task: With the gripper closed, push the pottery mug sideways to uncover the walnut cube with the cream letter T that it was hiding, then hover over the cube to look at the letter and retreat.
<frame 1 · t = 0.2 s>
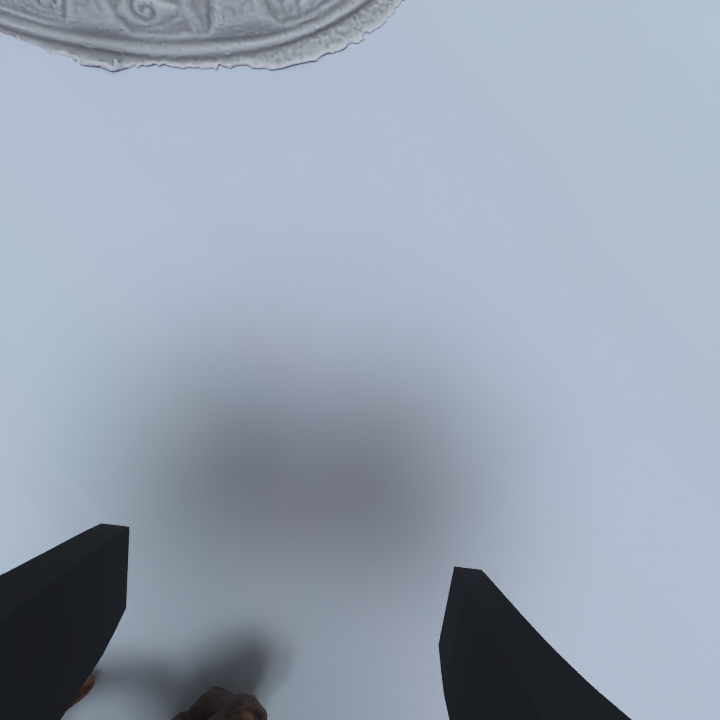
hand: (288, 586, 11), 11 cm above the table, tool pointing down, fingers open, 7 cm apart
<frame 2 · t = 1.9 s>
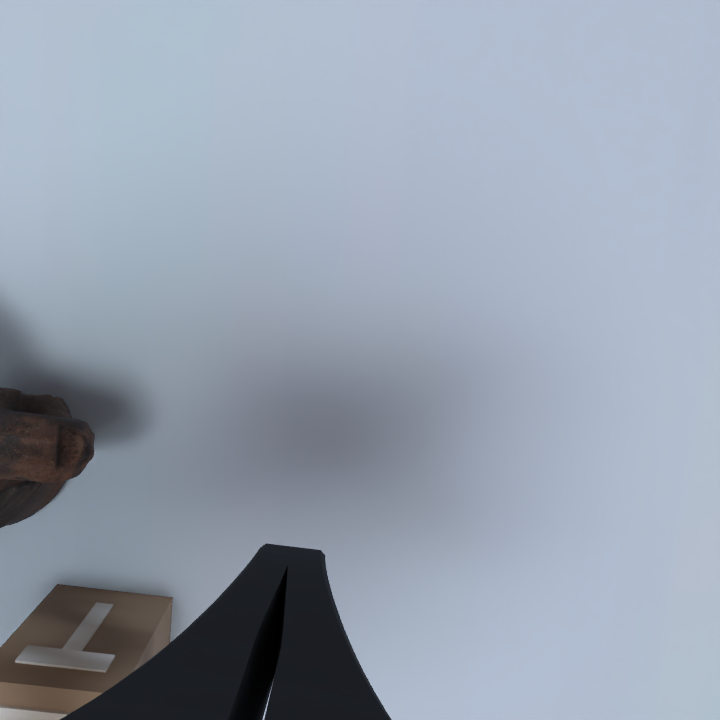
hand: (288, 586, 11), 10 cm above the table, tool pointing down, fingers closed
letter cube: (114, 638, 22), on the table
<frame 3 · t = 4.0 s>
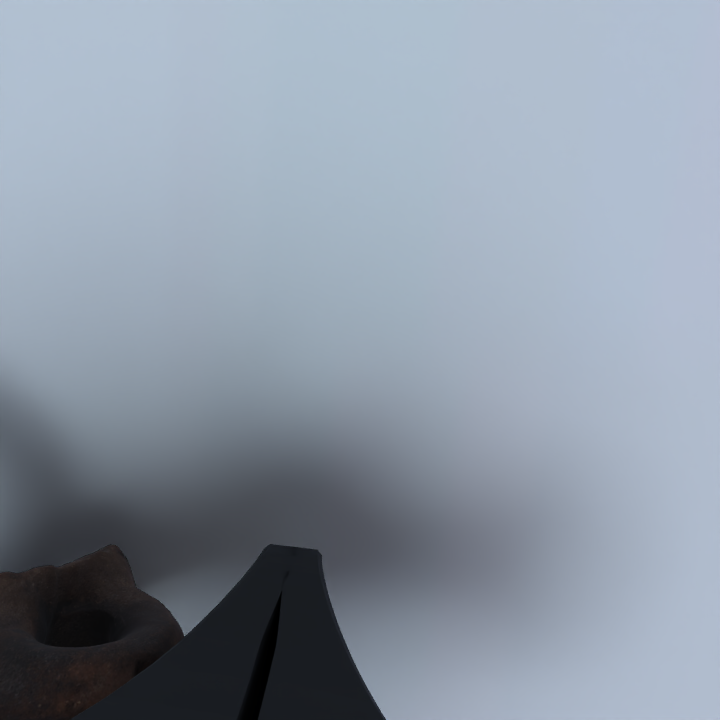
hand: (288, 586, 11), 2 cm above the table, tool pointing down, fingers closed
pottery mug: (13, 546, 13), on the table, touching gripper
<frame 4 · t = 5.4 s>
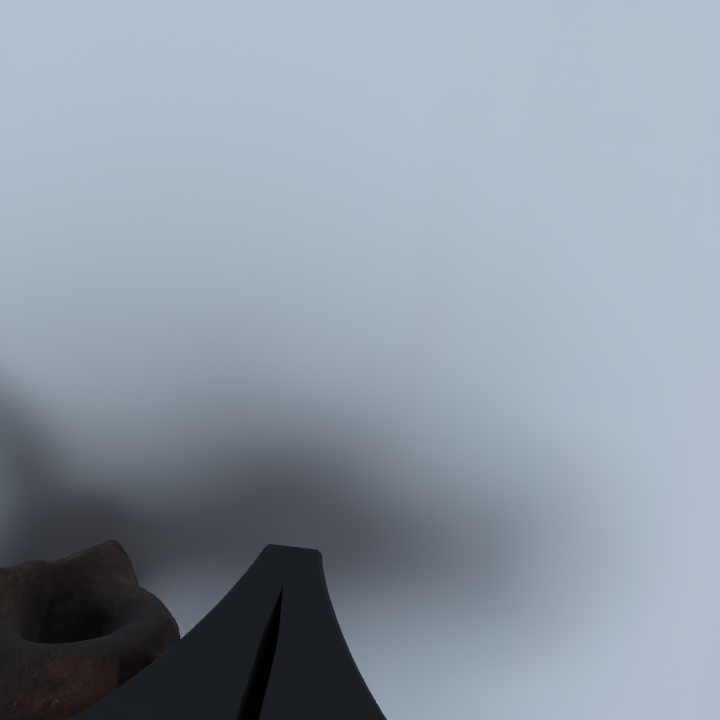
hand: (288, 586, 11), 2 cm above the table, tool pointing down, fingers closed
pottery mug: (20, 543, 13), on the table, touching gripper
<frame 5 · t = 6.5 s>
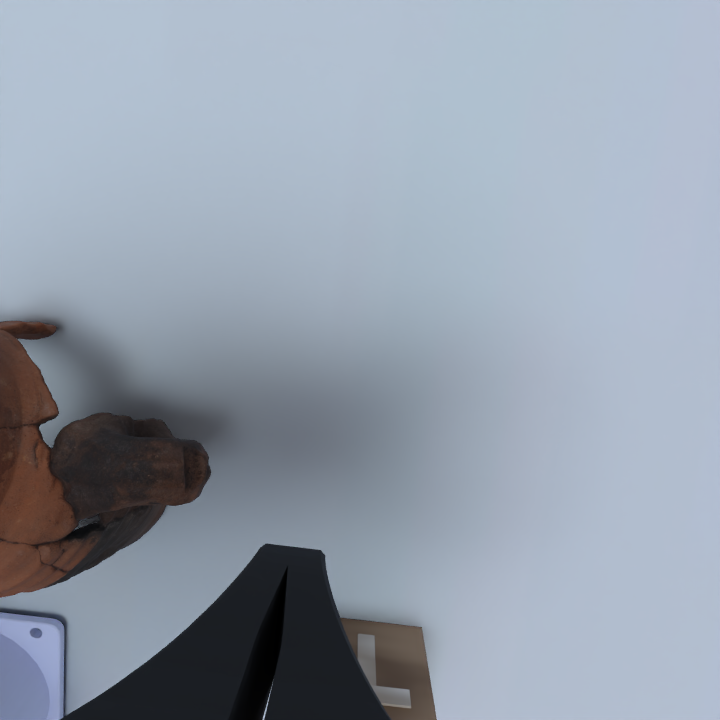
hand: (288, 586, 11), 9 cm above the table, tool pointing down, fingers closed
letter cube: (358, 666, 23), on the table
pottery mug: (95, 433, 20), on the table
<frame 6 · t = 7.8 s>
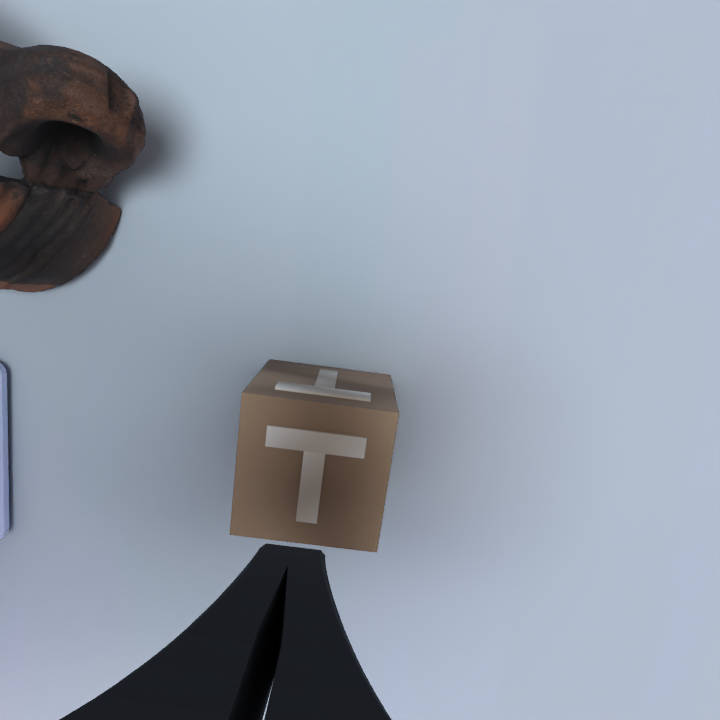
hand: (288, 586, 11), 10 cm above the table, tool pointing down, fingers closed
letter cube: (323, 423, 21), on the table
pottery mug: (35, 156, 19), on the table
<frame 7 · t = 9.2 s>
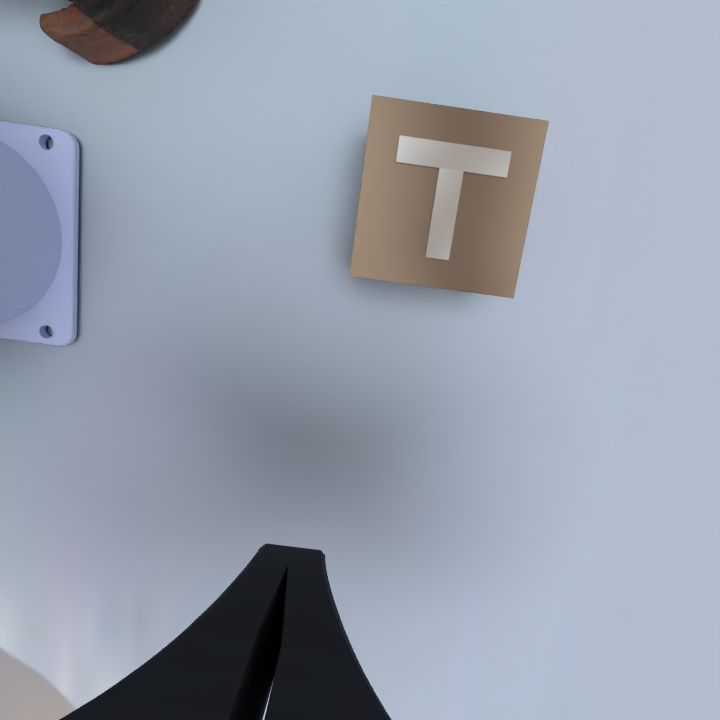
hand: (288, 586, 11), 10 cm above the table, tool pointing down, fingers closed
letter cube: (423, 212, 19), on the table
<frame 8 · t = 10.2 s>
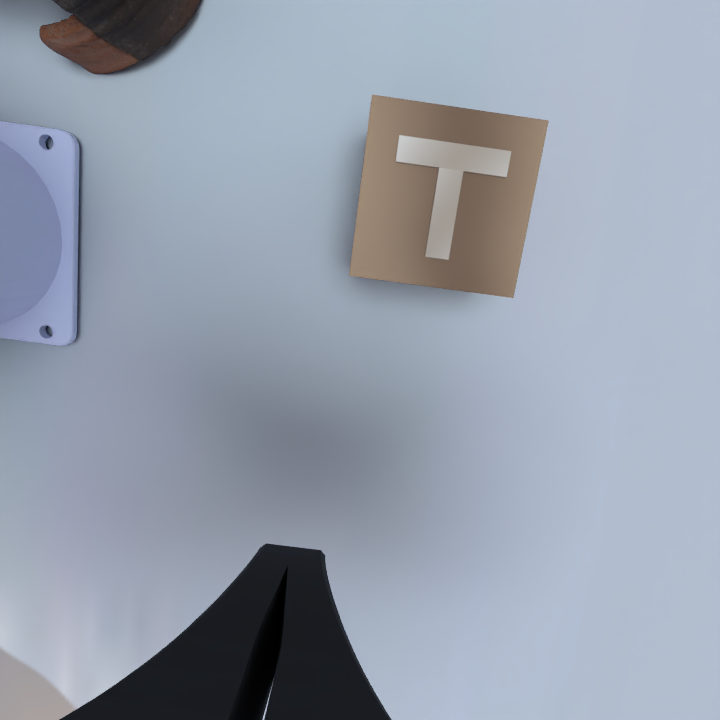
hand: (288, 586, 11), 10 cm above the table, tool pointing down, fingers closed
letter cube: (423, 212, 19), on the table
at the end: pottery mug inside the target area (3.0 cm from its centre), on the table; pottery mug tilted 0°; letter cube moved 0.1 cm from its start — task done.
